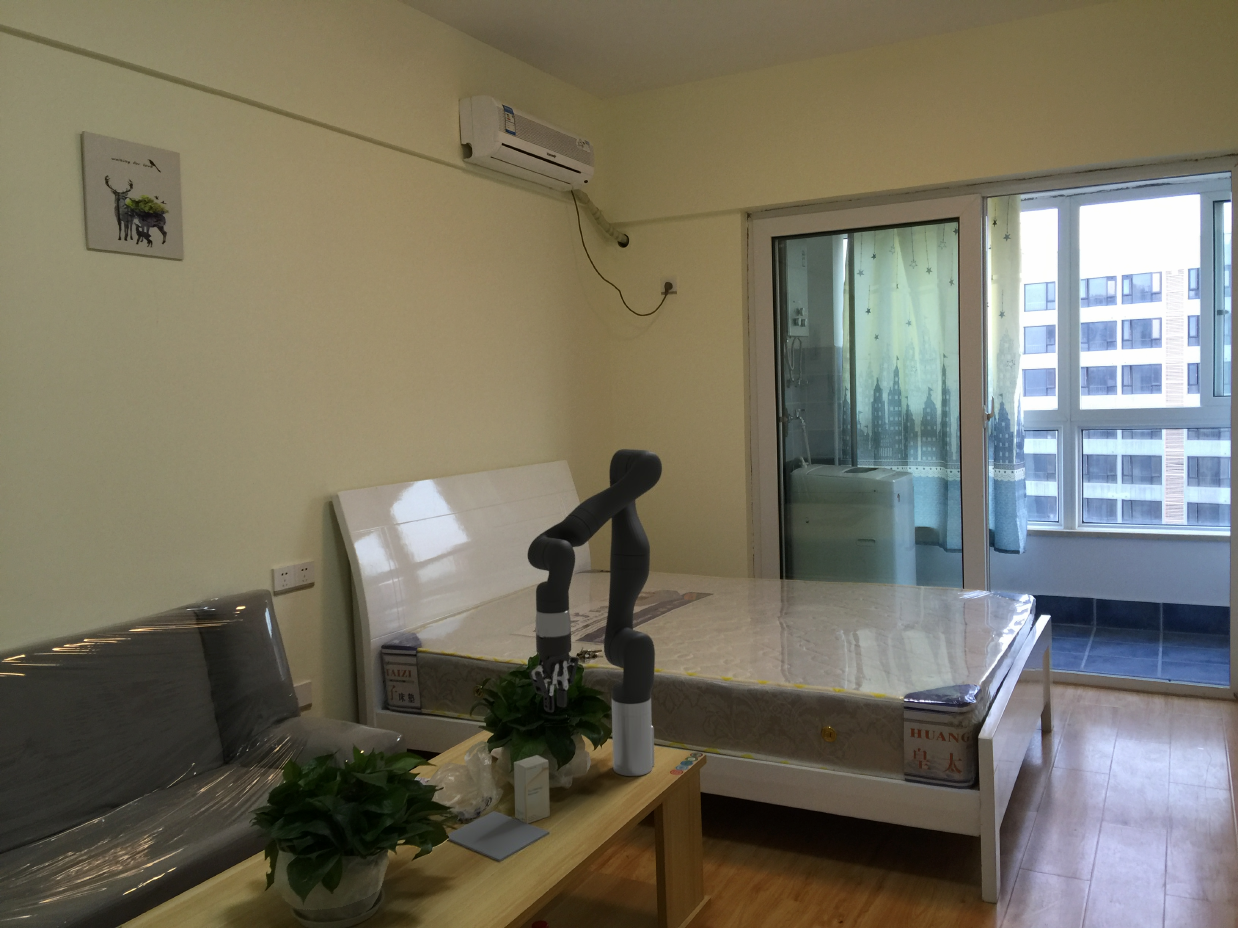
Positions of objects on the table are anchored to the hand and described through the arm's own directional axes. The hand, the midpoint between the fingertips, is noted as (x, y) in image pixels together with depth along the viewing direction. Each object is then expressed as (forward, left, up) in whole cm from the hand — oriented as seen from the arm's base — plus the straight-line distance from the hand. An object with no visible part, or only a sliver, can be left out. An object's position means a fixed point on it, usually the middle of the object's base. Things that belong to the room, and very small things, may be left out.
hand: (555, 708), depth 207 cm
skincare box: (+8, 0, -21) cm, 23 cm away
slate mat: (+19, 0, -21) cm, 28 cm away
